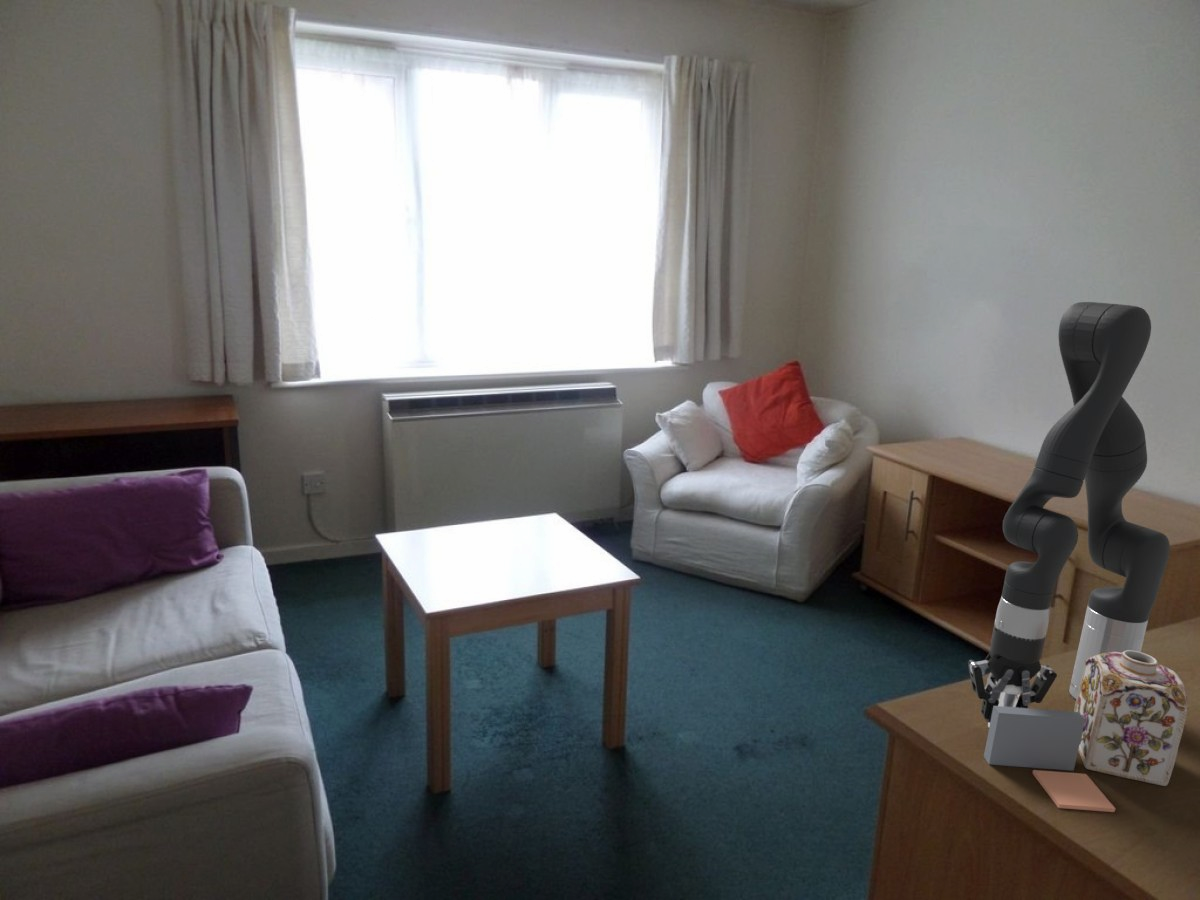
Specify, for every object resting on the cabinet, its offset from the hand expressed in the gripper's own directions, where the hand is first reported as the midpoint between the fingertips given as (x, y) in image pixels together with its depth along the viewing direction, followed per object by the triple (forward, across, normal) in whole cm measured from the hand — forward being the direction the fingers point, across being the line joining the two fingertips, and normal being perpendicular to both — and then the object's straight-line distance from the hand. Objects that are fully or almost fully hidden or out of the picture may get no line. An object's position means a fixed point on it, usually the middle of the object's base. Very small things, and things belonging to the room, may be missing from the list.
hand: (1001, 720), depth 137 cm
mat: (+2, -4, +16) cm, 16 cm away
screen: (+2, -1, +9) cm, 9 cm away
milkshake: (+2, 0, 0) cm, 2 cm away
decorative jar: (+2, -16, +6) cm, 17 cm away
